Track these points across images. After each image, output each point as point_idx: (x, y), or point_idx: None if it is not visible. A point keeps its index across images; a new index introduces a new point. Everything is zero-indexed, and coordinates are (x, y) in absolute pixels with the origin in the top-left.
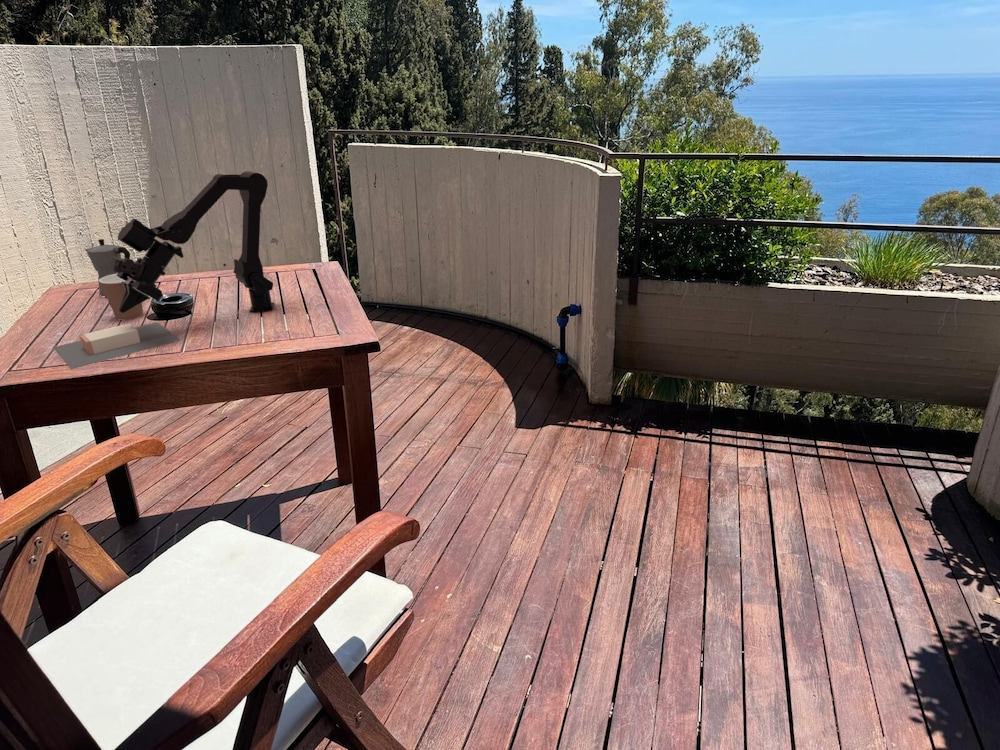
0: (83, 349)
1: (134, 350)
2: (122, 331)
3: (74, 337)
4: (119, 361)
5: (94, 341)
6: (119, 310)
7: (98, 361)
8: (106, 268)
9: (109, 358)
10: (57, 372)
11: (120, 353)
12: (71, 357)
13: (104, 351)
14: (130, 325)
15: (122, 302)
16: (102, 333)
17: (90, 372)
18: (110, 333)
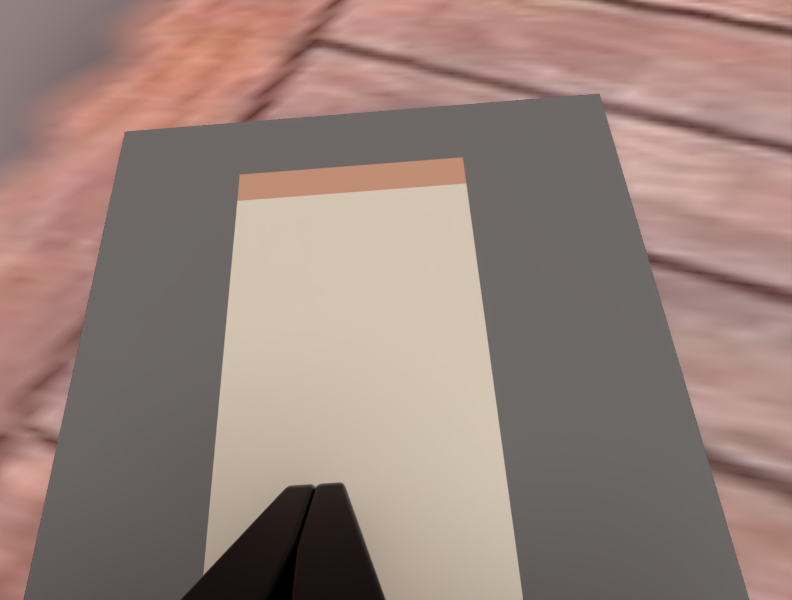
0: None
1: (90, 501)
2: (276, 465)
3: (776, 212)
4: (16, 366)
5: (237, 229)
6: (304, 485)
7: (102, 255)
8: None
9: (92, 317)
10: (168, 90)
11: (123, 397)
12: (316, 150)
13: None
14: (429, 595)
15: (293, 597)
16: (369, 301)
17: (6, 205)
18: (309, 357)
